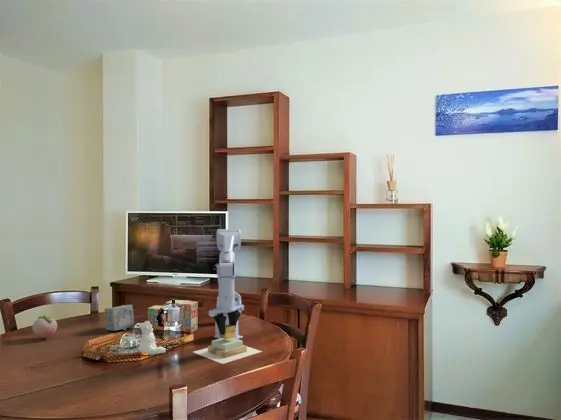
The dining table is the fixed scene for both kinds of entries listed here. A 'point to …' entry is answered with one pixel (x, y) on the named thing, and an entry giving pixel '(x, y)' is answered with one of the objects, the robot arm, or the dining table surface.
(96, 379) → the dining table surface
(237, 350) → the oak base block
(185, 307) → the stack of blocks
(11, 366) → the dining table surface
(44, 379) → the dining table surface
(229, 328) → the ochre cube
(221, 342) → the sage top block
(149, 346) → the white creature statuette
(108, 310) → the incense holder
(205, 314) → the dining table surface
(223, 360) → the linen mat
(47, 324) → the decorative fruit
